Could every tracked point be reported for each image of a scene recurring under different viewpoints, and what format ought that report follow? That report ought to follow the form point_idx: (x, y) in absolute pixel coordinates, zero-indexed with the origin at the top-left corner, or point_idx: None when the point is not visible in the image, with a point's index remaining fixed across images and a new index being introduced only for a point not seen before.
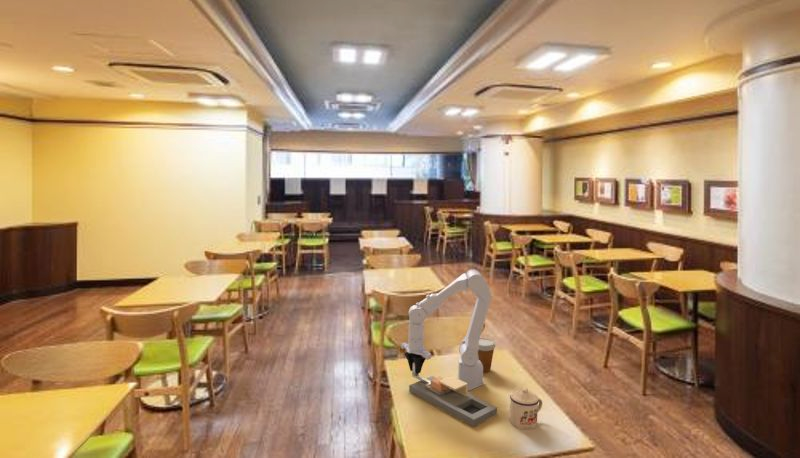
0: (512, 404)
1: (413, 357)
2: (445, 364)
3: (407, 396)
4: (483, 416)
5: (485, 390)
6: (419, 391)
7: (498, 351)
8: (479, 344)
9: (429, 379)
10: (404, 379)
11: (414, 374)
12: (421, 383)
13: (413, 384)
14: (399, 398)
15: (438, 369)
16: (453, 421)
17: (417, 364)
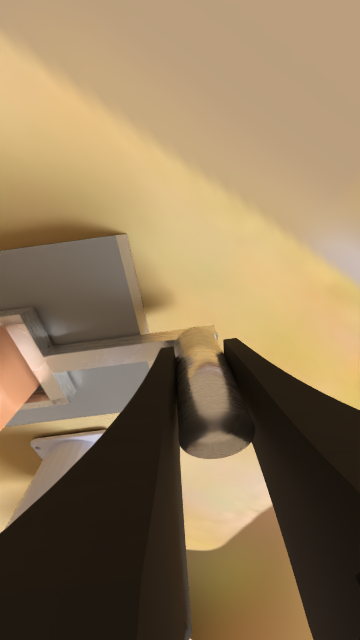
0: None
1: (91, 631)
2: (246, 466)
3: (68, 179)
4: None
5: (26, 469)
6: (7, 250)
7: (213, 548)
8: None
9: (132, 380)
10: (263, 298)
11: (184, 336)
12: (104, 322)
13: (112, 270)
14: (56, 89)
15: None
16: None
17: (110, 429)
